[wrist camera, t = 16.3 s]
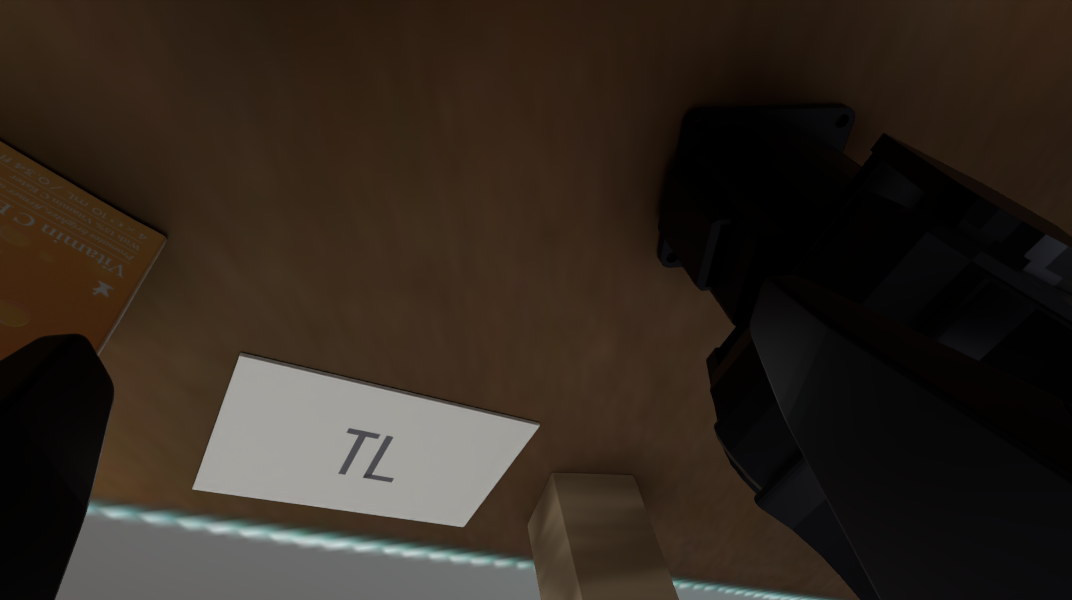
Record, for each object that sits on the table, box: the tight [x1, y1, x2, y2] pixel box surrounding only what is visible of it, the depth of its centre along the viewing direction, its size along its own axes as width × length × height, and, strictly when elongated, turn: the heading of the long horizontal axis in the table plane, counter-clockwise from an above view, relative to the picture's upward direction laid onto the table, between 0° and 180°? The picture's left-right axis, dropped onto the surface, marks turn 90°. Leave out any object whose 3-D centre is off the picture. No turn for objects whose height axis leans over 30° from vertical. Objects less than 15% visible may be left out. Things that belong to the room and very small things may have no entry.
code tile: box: [193, 353, 540, 527], centre depth 29 cm, size 14×9×1 cm, turn 60°
